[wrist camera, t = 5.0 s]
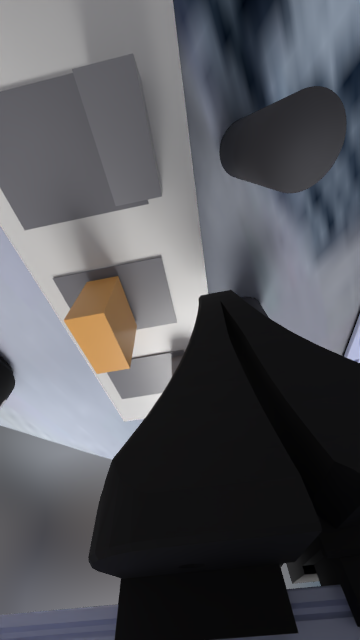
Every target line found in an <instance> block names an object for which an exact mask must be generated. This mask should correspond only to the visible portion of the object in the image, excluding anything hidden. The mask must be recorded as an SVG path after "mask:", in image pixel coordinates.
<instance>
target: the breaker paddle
mask: <svg viewBox="0 0 360 640" xmlns="http://www.w3.org/2000/svg"><path fill="white" fill-rule="evenodd" d="M64 322H65V323H66V325H67V327H68V328H69V330H70V332H71V333H72V335H73V336H74V338H75V340H76V341H77V343H78V344H79V346H80V348H81V349H82V351H83V352H84V354H85V356H86V357H87V359H88V361H89V362H90V364H91V365H92V367H93V369H94V370H95V372H96V373H97V374H100V373H106V372H112V371H118V370H124V369H130V366H131V360H132V354H133V348H134V342H135V335H136V329H137V324H136V322H135V319H134V317H133V314H132V311H131V309H130V306H129V303H128V301H127V298H126V295H125V293H124V290H123V288H122V285H121V282H120V280H119V277H118V276H115V277H110V278H105V279H100V280H95V281H89V282H87V283H86V284H85V286H84V288H83V289H82V291H81V293H80V294H79V296H78V297H77V299H76V301H75V302H74V304H73V306H72V307H71V309H70V311H69V312H68V314H67V315H66V317H65V319H64Z"/></svg>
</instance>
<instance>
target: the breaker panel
mask: <svg viewBox="0 0 360 640" xmlns="http://www.w3.org/2000/svg"><path fill="white" fill-rule="evenodd" d="M0 226H1V228H2V229H3V231H4V232H5V234H6V236H7V237H8V239H9V240H10V242H11V243H12V245H13V247H14V248H15V250H16V251H17V253H18V255H19V256H20V258H21V259H22V261H23V262H24V264H25V266H26V267H27V269H28V270H29V272H30V274H31V275H32V277H33V278H34V280H35V281H36V283H37V285H38V286H39V288H40V289H41V291H42V292H43V294H44V296H45V297H46V299H47V300H48V302H49V304H50V305H51V307H52V308H53V310H54V311H55V313H56V315H57V316H58V318H59V319H60V321H61V323H62V324H63V326H64V327H65V329H66V330H67V332H68V334H69V335H70V337H71V338H72V340H73V341H74V343H75V345H76V346H77V348H78V349H79V351H80V353H81V354H82V356H83V357H84V359H85V360H86V362H87V364H88V365H89V367H90V368H91V370H92V372H93V373H94V375H95V376H96V378H97V379H98V381H99V383H100V384H101V386H102V387H103V389H104V390H105V392H106V394H107V395H108V397H109V398H110V400H111V402H112V403H113V405H114V406H115V408H116V409H117V411H118V413H119V414H120V416H121V417H122V419H123V421H124V422H126V421H132V420H139V419H145V418H146V416H147V415H148V413H149V412H150V410H151V409H152V407H153V406H154V404H155V403H156V402H157V400H158V399H159V397H160V396H161V394H162V393H163V391H164V390H165V388H166V386H167V385H168V383H169V381H170V380H171V378H172V376H173V374H174V372H175V371H176V369H177V367H178V365H179V363H180V361H181V359H182V357H183V355H184V352H185V350H186V348H187V345H188V343H189V340H190V337H191V334H192V332H193V329H194V325H195V321H196V317H197V313H198V306H199V300H198V298H199V297H200V296H201V295H206V294H208V288H207V280H206V272H205V264H204V255H203V247H202V239H201V230H200V222H199V214H198V205H197V197H196V189H195V181H194V172H193V164H192V156H191V147H190V139H189V131H188V122H187V114H186V106H185V97H184V89H183V81H182V73H181V64H180V56H179V48H178V39H177V31H176V23H175V14H174V6H173V0H0ZM115 276H118V277H119V280H120V282H121V285H122V288H123V290H124V293H125V295H126V298H127V301H128V303H129V306H130V309H131V311H132V314H133V317H134V319H135V322H136V324H137V329H136V335H135V342H134V348H133V354H132V360H131V366H130V369H124V370H118V371H112V372H106V373H100V374H97V373H96V372H95V370H94V369H93V367H92V365H91V364H90V362H89V361H88V359H87V357H86V356H85V354H84V352H83V351H82V349H81V348H80V346H79V344H78V343H77V341H76V340H75V338H74V336H73V335H72V333H71V332H70V330H69V328H68V327H67V325H66V323H65V322H64V319H65V317H66V315H67V314H68V312H69V311H70V309H71V307H72V306H73V304H74V302H75V301H76V299H77V297H78V296H79V294H80V293H81V291H82V289H83V288H84V286H85V284H86V283H87V282H89V281H95V280H100V279H105V278H110V277H115Z"/></svg>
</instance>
